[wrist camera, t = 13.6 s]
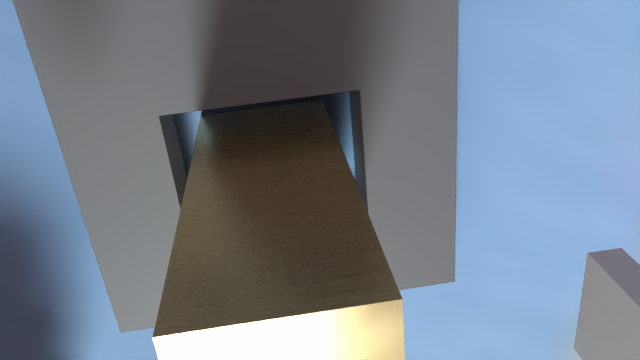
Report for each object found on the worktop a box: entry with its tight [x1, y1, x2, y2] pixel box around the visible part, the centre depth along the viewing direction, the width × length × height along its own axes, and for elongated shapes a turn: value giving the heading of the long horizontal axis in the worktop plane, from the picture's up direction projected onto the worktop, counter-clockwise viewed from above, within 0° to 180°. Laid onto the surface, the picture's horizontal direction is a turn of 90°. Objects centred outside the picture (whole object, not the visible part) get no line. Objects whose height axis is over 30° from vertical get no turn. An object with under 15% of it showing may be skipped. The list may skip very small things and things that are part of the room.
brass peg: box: [153, 100, 405, 360], centre depth 16 cm, size 4×4×12 cm
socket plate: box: [13, 0, 458, 333], centre depth 19 cm, size 13×19×2 cm
